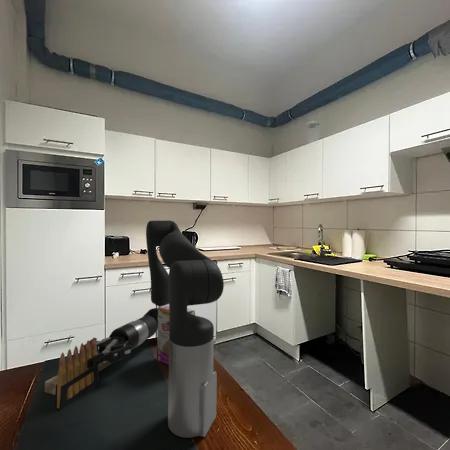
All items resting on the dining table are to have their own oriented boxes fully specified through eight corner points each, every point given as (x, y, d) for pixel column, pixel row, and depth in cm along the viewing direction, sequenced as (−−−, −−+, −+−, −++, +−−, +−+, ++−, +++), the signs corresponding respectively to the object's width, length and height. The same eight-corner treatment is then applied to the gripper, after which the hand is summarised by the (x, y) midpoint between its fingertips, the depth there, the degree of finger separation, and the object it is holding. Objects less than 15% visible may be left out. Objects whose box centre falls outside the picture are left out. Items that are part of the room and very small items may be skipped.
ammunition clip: (60, 410, 56) (61, 355, 56) (54, 408, 57) (55, 353, 57) (98, 383, 66) (99, 336, 66) (92, 381, 67) (93, 335, 67)
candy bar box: (155, 361, 77) (156, 307, 78) (167, 355, 81) (168, 303, 82) (183, 373, 71) (184, 313, 72) (195, 365, 75) (195, 309, 76)
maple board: (110, 363, 76) (111, 355, 76) (59, 396, 61) (59, 385, 61) (97, 360, 77) (97, 352, 77) (44, 391, 62) (45, 381, 62)
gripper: (111, 320, 81) (60, 342, 65) (149, 326, 76) (104, 352, 60) (111, 344, 81) (59, 372, 64) (149, 352, 76) (103, 385, 60)
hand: (81, 362), depth 62 cm, fingers open, 4 cm apart
